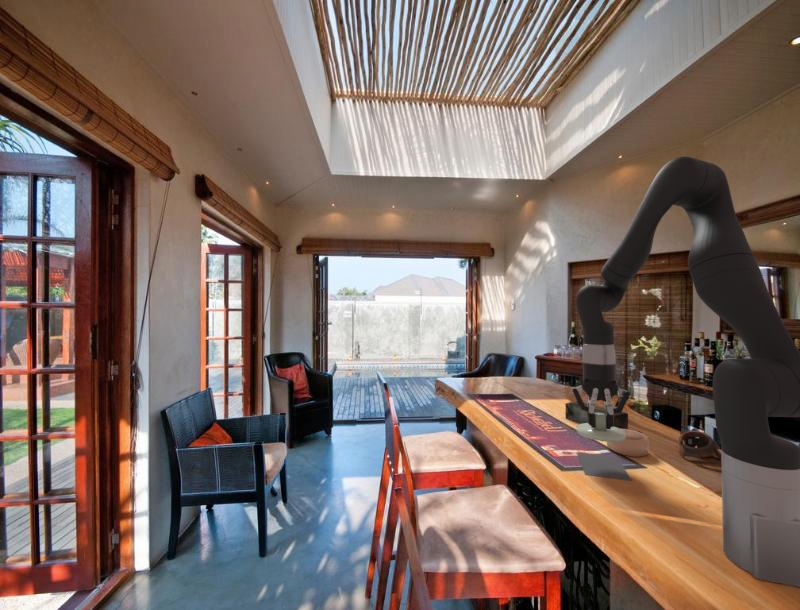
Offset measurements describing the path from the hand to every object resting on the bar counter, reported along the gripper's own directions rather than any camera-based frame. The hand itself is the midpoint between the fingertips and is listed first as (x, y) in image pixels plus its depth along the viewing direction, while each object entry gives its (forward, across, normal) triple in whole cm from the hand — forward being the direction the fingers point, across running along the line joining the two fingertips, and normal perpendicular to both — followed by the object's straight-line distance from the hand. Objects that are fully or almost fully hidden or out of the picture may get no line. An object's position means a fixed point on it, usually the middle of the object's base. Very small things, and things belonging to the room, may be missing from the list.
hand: (600, 427), depth 90 cm
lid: (+2, 0, 0) cm, 2 cm away
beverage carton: (+10, +6, +38) cm, 40 cm away
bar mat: (+11, 0, +1) cm, 11 cm away
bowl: (+10, +9, +14) cm, 20 cm away
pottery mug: (+11, +27, +16) cm, 33 cm away
